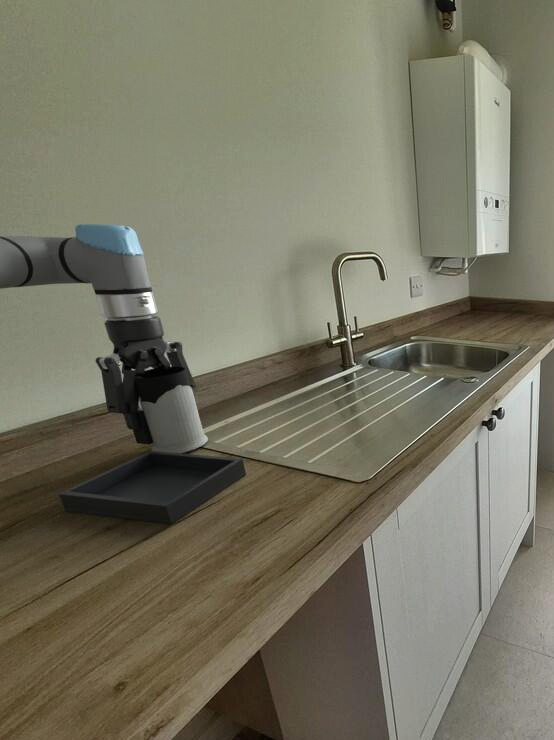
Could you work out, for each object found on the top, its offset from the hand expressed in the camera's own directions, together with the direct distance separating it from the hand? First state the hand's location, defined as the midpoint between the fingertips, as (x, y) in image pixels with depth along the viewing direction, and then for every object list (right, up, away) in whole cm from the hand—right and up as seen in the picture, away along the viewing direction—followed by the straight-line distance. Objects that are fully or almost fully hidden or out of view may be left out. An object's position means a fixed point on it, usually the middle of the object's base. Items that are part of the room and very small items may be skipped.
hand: (166, 433), depth 80 cm
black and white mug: (0, -2, +1) cm, 2 cm away
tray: (+12, -8, -14) cm, 20 cm away
